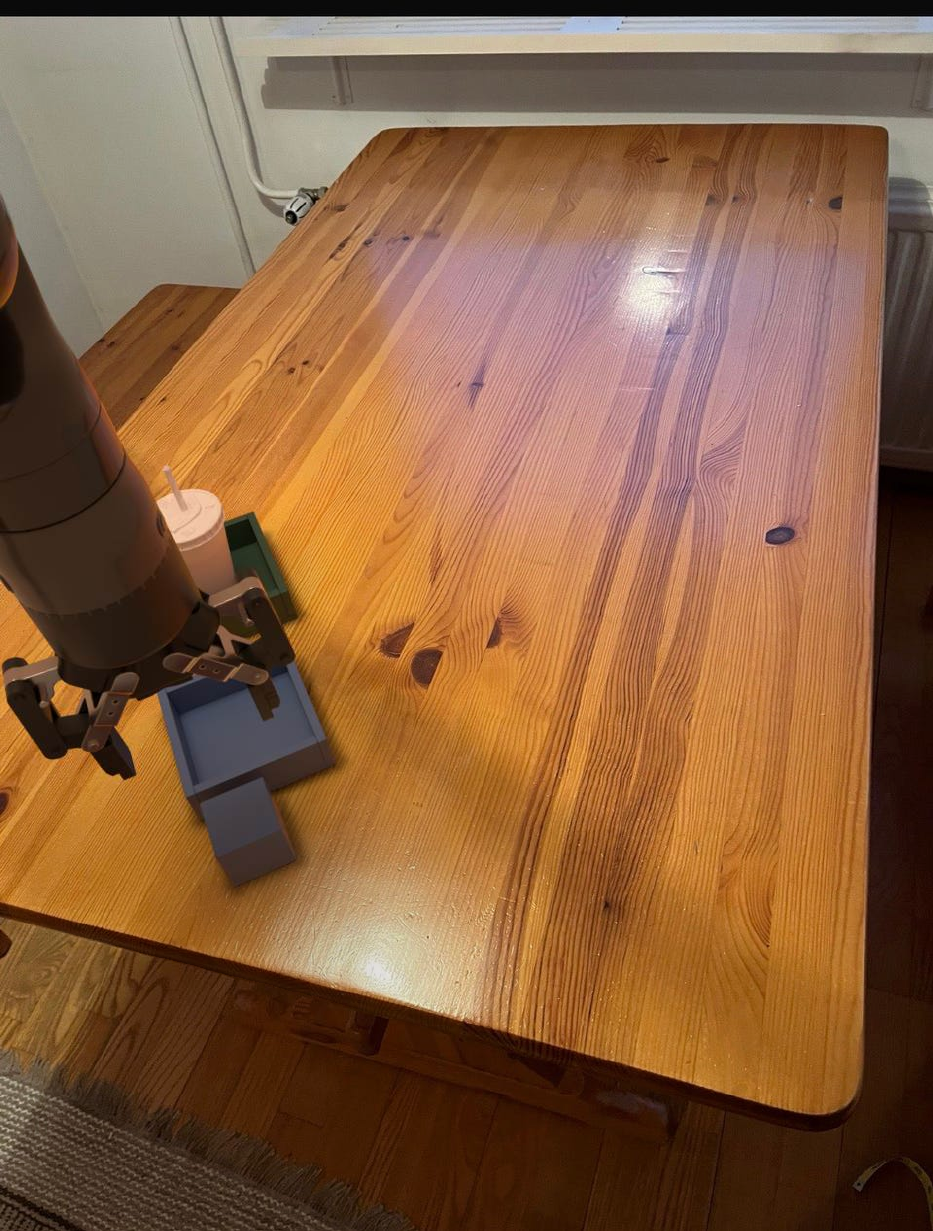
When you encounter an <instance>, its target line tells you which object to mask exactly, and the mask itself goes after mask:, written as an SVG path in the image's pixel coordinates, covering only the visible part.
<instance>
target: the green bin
mask: <svg viewBox="0 0 933 1231" xmlns="http://www.w3.org/2000/svg"><path fill="white" fill-rule="evenodd" d="M224 528H225V532H226V537H227V541H228V546H229V550H230V555H231V559H232V563H233V568H234V572H235V574H236V573H237V572H238V571H239V570H241V569H243V568H252V569H254V570H255V571H256V573H257V575H258V577H259V579H260V581H261V583H262V585H263V587H264V589H265V591H266V593H267V595H268V597H269V599H270V601H271V603H272V605H273V607H274V609H275V611H276V613H277V615H278V617H279V619H280V621H281V623H282V625H283V624H286V623H288V622H290V621H293V620H296V619H298V618H299V616H298V613H297V610H296V607H295V605H294V601H293V599H292V596H291V594H290V590H289V589H288V586H287V584H286V582H285V580H284V577H283V574H282V573H281V570H280V568H279V565H278V563H277V562H276V558H275V557H274V555H273V552H272V550H271V548H270V545H269V543H268V541H267V539H266V536H265V533H264V532H263V529H262V527H261V525H260V523H259V520H258V518H257V515H256V513H255V511H250V512H246V513H244V514H242V515H239V516H236V517H233V518H229V519H228V520H225V521H224ZM220 625H221V626H223V627H224V628H225V629H226V630H227V631H228V632H229V633H230V634H233V635H236V636H239V637H242V638H245V639H248V638H249V637H253V636H254V635H258V634H260V633H259V631H258V630H257V628H256V626H255V624H253V625H252V626H246V625H245V623H244V622H239V621H237V620H236V619H235V618H234V617H232V616H223V617H221V622H220Z"/></svg>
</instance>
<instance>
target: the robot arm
mask: <svg viewBox="0 0 933 1231" xmlns="http://www.w3.org/2000/svg"><path fill="white" fill-rule="evenodd" d="M156 502H157V500H156V499H155V497H154V494H153V492H152V490H151V488H150V486H149V484H148V482H147V481H146V479H145V477H144V476H143V474H142V472H141V471H140V470H139V467H137V465H136V464H135V463H134V461H133V460H132V458H131V457H130V455H129V454H128V452H127V450H126V449H125V446H124V445H123V443H122V440H121V438H120V437H119V434H118V433H117V431H116V429H115V426H114V424H113V422H112V420H111V418H110V416H109V414H108V412H107V409H106V408H105V406H104V404H103V402H102V399H101V397H100V396H99V394H98V392H97V390H96V388H95V386H94V384H93V382H92V381H91V379H90V377H89V375H88V374H87V372H86V370H85V368H84V367H83V365H82V364H81V362H80V360H79V359H78V357H77V356H76V354H75V353H74V352H73V350H72V348H71V346H70V345H69V344H68V342H67V340H66V339H65V338H64V336H63V334H62V333H61V331H60V329H59V328H58V326H57V324H56V323H55V321H54V319H53V316H52V315H51V313H50V310H49V309H48V307H47V304H46V302H45V299H44V297H43V294H42V292H41V290H40V287H39V285H38V283H37V281H36V278H35V275H34V274H33V272H32V269H31V266H30V264H29V262H28V260H27V257H26V255H25V253H24V250H23V248H22V246H21V244H20V242H19V239H18V236H17V232H16V228H15V224H14V221H13V217H12V215H11V212H10V209H9V207H8V206H7V202H6V201H5V198H4V196H3V194H2V192H1V191H0V581H1V582H2V584H3V586H4V587H5V589H6V590H7V591H8V592H9V593H11V594H13V596H14V597H15V599H16V600H17V602H19V604H20V606H21V607H22V608H23V610H24V611H25V613H26V614H27V616H28V617H29V618H30V620H31V621H32V622H33V624H34V625H35V627H36V628H37V629H38V631H39V633H40V634H41V635H42V636H43V639H45V641H46V642H47V644H48V645H49V646H50V648H51V649H52V651H53V652H54V654H53V655H52V656H49V657H46V658H44V659H41V660H38V661H35V662H33V663H32V662H31V663H29V662H28V661H27V660H26V659H25V658H23V657H19V656H14V657H9V658H7V659H5V660H4V661H3V662H2V664H1V672H2V680H3V687H4V692H5V699H6V704H7V705H8V707H9V708H10V710H11V711H12V712H13V714H14V715H15V717H16V718H17V719H18V721H19V723H20V724H21V725H22V726H23V729H24V730H25V731H26V733H27V734H28V735H29V737H30V739H31V740H32V741H33V742H34V744H35V745H36V747H37V748H38V750H39V751H40V753H41V754H42V755H43V757H44V758H45V759H47V760H50V761H51V760H53V761H55V760H59V759H62V758H63V757H65V756H66V755H67V754H68V752H69V750H75V749H82V751H84V752H86V753H89V754H90V755H91V756H92V757H93V759H94V760H95V761H96V763H97V764H98V766H99V767H100V769H102V770H103V772H104V773H105V774H106V775H108V776H111V777H115V776H117V775H119V776H120V777H121V779H122V780H123V781H126V780H130V779H132V778H134V777H137V771H136V770H137V769H136V767H135V763H134V762H135V761H134V759H133V755H132V752H131V750H130V748H129V746H128V744H127V742H126V741H125V740H124V738H123V737H122V736H121V734H120V733H119V732H118V730H117V729H116V727H117V726H118V725H119V723H120V720H121V718H122V716H123V713H124V711H125V708H126V707H127V704H128V701H129V700H133V699H136V701H137V702H142V701H143V700H146V699H149V698H151V697H153V696H154V695H157V693H158V692H159V691H161V690H162V689H164V688H167V687H172V686H176V685H181V684H183V683H186V682H188V681H190V680H193V675H195V674H197V675H200V676H204V677H207V678H211V679H214V680H218V681H221V682H226V681H227V680H228V679H229V678H231V679H234V680H238V681H241V682H245V683H246V685H247V688H248V690H249V692H250V694H251V696H252V698H253V700H254V703H255V705H256V707H257V709H258V711H259V713H260V715H261V717H262V719H263V721H267V720H269V719H271V718H274V714H273V712H272V709H274V708H277V707H279V705H280V699H279V696H278V694H277V691H276V689H275V686H274V684H273V681H272V679H271V677H270V672H271V670H272V669H273V668H274V667H275V666H276V665H279V666H286V665H289V664H290V663H292V662H293V661H295V659H296V657H297V656H296V652H295V650H294V648H293V646H292V644H291V641H290V639H289V637H288V634H287V632H286V629H285V627H284V625H283V624H282V623H281V621H280V619H279V617H278V615H277V613H276V611H275V609H274V607H273V605H272V603H271V601H270V599H269V597H268V595H267V593H266V591H265V589H264V587H263V585H262V583H261V581H260V579H259V577H258V575H257V573H256V571H255V570H254V569H252V568H243V569H241V570H239V571H238V572H237V573H236V574H235V581H236V585H233V586H231V587H229V588H227V589H224V590H222V591H220V592H217V593H215V594H213V595H209V594H208V593H206V592H204V591H202V590H201V589H200V588H198V587H197V586H196V584H195V582H194V580H193V578H192V576H191V574H190V571H189V569H188V567H187V565H186V563H185V561H184V559H183V557H182V555H181V553H180V551H179V549H178V547H177V544H176V542H175V540H174V538H173V536H172V534H171V532H170V530H169V528H168V525H167V523H166V520H165V518H164V516H163V514H162V512H161V511H160V509H159V507H158V505H157V503H156ZM223 616H232V617H234V618H235V619H236V620H237V621H239V622H244V623H245V625H246V626H252V625H253V624H255V626H256V628H257V630H258V631H259V633H258V634H259V636H260V637H259V638H257V639H256V640H254V641H253V640H250V639H248V638H242V637H239V636H236V635H233V634H230V633H229V632H228V631H227V630H226V629H225V628H224V627H223V626H221V625H220V622H221V617H223ZM60 681H62V682H64V683H65V684H67V685H69V686H71V687H75V688H80V689H82V694H81V696H80V699H79V701H78V704H77V706H76V709H75V711H74V714H69V715H63V716H62V715H61V713H60V712H59V710H58V709H57V707H56V706H55V704H54V702H53V701H52V699H53V698H55V694H56V692H55V686H56V684H58V682H60Z"/></svg>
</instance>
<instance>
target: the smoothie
mask: <svg viewBox="0 0 933 1231" xmlns="http://www.w3.org/2000/svg"><path fill="white" fill-rule="evenodd" d="M162 472H163V474H164V476H165V478H166V480H167V482H168V485H169V487H170V489H171V493H169V494H166V495H164V496H162V497H161V498H160V499H158V500H156V503H157V505H158V507H159V509H160V511H161V512H162V514H163V516H164V518H165V520H166V523H167V525H168V528H169V530H170V532H171V534H172V536H173V538H174V540H175V542H176V544H177V547H178V549H179V551H180V553H181V555H182V557H183V559H184V561H185V563H186V565H187V567H188V569H189V571H190V574H191V576H192V578H193V580H194V582H195V584H196V586H197V587H198V588H200V589H201V590H202V591H204V592H206V593H208V594H209V595H213V594H215V593H217V592H220V591H222V590H224V589H227V588H229V587H231V586H233V585H236V581H235V572H234V568H233V563H232V559H231V555H230V550H229V546H228V541H227V537H226V532H225V528H224V522H225V521H226V512H225V509H224V506H223V505H222V503H221V501H220V499H219V498H218V496H216V495H215V494H214V493H212V492H211V491H208V490H205V489H199V488H187V489H181V490H180V487H179V485H178V483H177V481H176V478H175V476H174V474H173V471H172V469H171V467H170V465H165V466H163V467H162Z"/></svg>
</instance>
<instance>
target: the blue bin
mask: <svg viewBox="0 0 933 1231" xmlns="http://www.w3.org/2000/svg"><path fill="white" fill-rule="evenodd" d="M192 676H193V680H190V681H188V682H186V683H183V684H181V685H176V686H172V687H167V688H164V689H162V690H161V691H159V692H158V693H156V695H157V696H156V697H157V699H158V703H159V707H160V709H161V713H162V717H163V721H164V725H165V728H166V731H167V736H168V739H169V743H170V747H171V750H172V752H173V753H172V754H173V757H174V761H175V764H176V768H177V771H178V776H179V778H180V783H181V786H182V789H183V793H184V797H185V799H186V800H187V802H188V804H189V805H190V806H191V808H192V810H193V812H194V813H195V814H196V816H197V818H198V820H200V822H205V820H204V816H203V813H202V809H201V806H200V803H202V802H204V801H207V800H209V799H211V798H214V797H216V796H218V795H221V794H223V793H226V792H228V791H230V790H233V789H235V788H237V787H240V786H242V785H244V784H247V783H249V782H252V781H254V780H256V779H259V778H261V777H263V778H264V780H265V782H266V784H267V786H268V788H269V790H270V792H271V793H272V792H274V791H277V790H278V789H281V788H283V787H286V786H288V785H290V784H292V783H295V782H298V781H300V780H302V779H304V778H308V777H309V776H313V775H314V774H317V773H320V772H321V771H323V770H326V769H328V768H330V767H333V766H335V765H337V762H336V760H335V757H334V755H333V752H332V749H331V746H330V744H329V741H328V739H327V736H326V733H325V731H324V728H323V726H322V724H321V722H320V720H319V717H318V715H317V712H316V709H315V708H314V705H313V703H312V700H311V697H310V696H309V693H308V691H307V687H306V686H305V683H304V680H303V678H302V676H301V674H300V671H299V669H298V666H297V664H296V661H295V660H294V661H293V662H292V663H290V664H289V665H286V666H279V665H276V666H275V667H274V668H273V669H272V670H271V672H270V677H271V679H272V681H273V684H274V686H275V689H276V691H277V694H278V696H279V699H280V705H279V707H277V708H274V709H272V712H273V714H274V718H271V719H269V720H267V721H263V719H262V717H261V715H260V713H259V711H258V709H257V707H256V705H255V703H254V700H253V698H252V696H251V694H250V692H249V690H248V688H247V685H246V683H245V682H241V681H238V680H234V679H231V678H229V679H228V680H227V681H226V682H221V681H218V680H214V679H211V678H207V677H204V676H200V675H197V674H194V675H192Z"/></svg>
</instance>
